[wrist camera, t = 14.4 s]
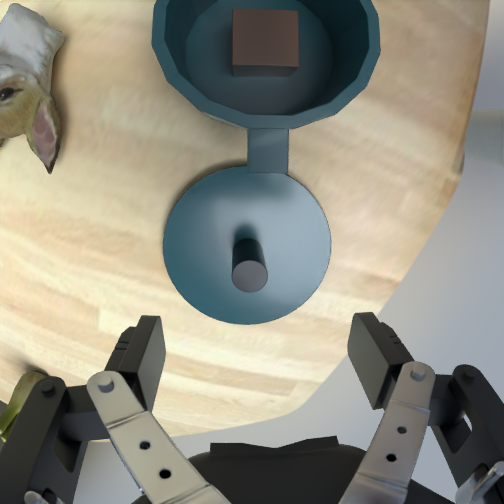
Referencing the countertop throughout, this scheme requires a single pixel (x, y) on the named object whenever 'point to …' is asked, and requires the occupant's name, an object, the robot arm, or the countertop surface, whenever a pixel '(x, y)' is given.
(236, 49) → the block
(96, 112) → the countertop surface
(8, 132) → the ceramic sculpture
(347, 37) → the pot
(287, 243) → the lid
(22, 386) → the fennel bulb
